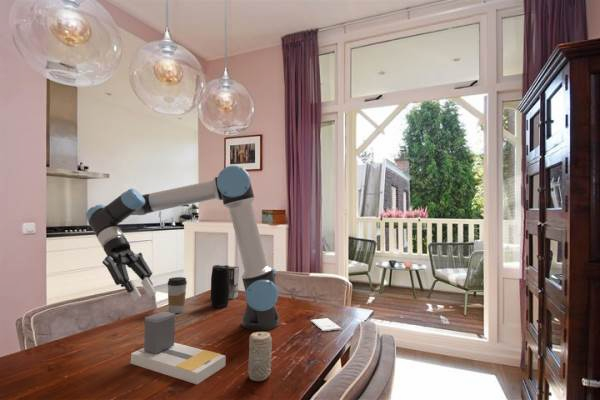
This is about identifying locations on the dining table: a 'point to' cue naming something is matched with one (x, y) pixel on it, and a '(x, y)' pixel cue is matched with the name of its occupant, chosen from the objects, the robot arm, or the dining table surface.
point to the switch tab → (159, 332)
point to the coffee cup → (176, 294)
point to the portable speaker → (220, 286)
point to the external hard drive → (325, 324)
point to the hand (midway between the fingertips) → (145, 297)
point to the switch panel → (181, 362)
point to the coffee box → (233, 282)
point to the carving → (259, 356)
